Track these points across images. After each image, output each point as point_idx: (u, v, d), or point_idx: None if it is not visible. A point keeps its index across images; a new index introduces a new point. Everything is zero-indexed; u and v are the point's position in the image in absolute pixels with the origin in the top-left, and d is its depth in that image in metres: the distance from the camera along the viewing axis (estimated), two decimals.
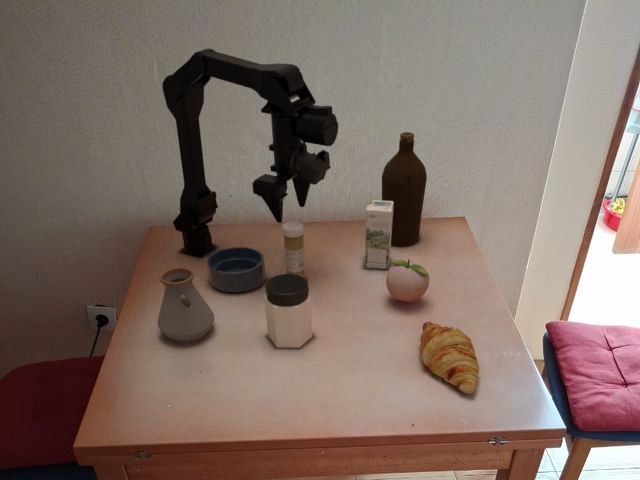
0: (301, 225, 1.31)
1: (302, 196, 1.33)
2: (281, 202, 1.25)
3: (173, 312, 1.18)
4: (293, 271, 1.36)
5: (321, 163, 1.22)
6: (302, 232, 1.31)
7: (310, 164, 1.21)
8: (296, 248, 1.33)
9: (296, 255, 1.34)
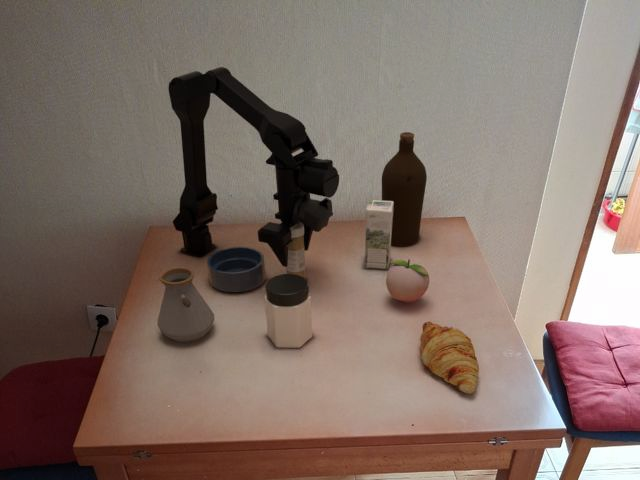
0: (301, 225, 1.31)
1: (305, 240, 1.37)
2: (286, 248, 1.29)
3: (173, 312, 1.18)
4: (294, 272, 1.36)
5: (324, 211, 1.26)
6: (302, 232, 1.31)
7: (313, 213, 1.25)
8: (297, 248, 1.33)
9: (297, 256, 1.34)
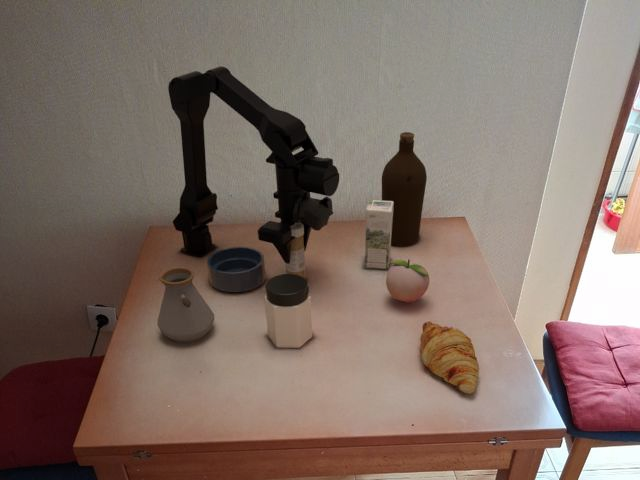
0: (301, 225, 1.31)
1: None
2: (289, 245, 1.29)
3: (173, 312, 1.18)
4: (294, 272, 1.36)
5: (324, 210, 1.26)
6: (302, 232, 1.31)
7: (313, 211, 1.25)
8: (296, 248, 1.33)
9: (296, 256, 1.34)
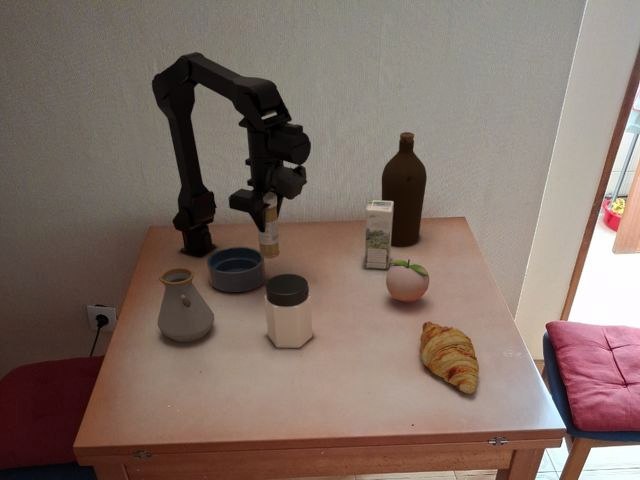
0: (274, 196, 1.27)
1: None
2: (264, 212, 1.26)
3: (173, 312, 1.18)
4: (267, 244, 1.33)
5: (297, 178, 1.22)
6: (275, 203, 1.27)
7: (286, 179, 1.21)
8: (269, 220, 1.29)
9: (269, 227, 1.30)
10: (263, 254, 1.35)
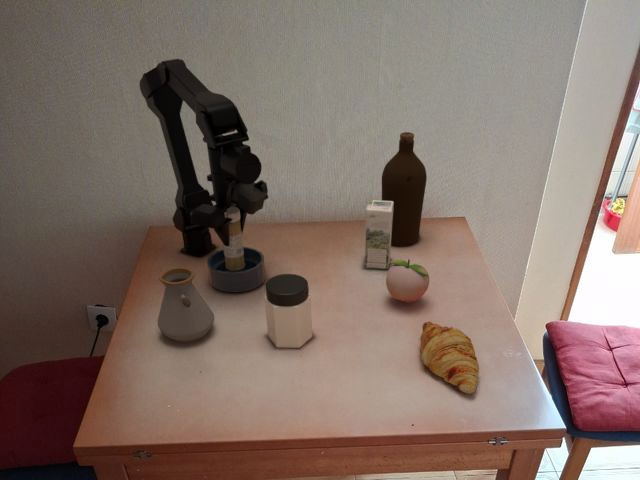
0: (236, 210, 1.30)
1: None
2: (226, 227, 1.29)
3: (173, 312, 1.18)
4: (231, 257, 1.35)
5: (258, 193, 1.25)
6: (238, 217, 1.30)
7: (247, 195, 1.23)
8: (233, 233, 1.31)
9: (233, 241, 1.32)
10: (228, 267, 1.37)
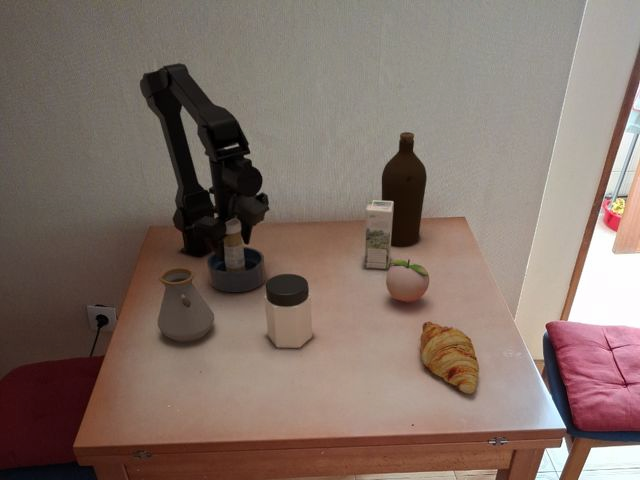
0: (237, 222, 1.31)
1: (246, 234, 1.37)
2: (222, 242, 1.29)
3: (173, 312, 1.18)
4: (233, 268, 1.37)
5: (259, 206, 1.26)
6: (239, 229, 1.32)
7: (248, 207, 1.25)
8: (234, 244, 1.33)
9: (234, 252, 1.34)
10: None
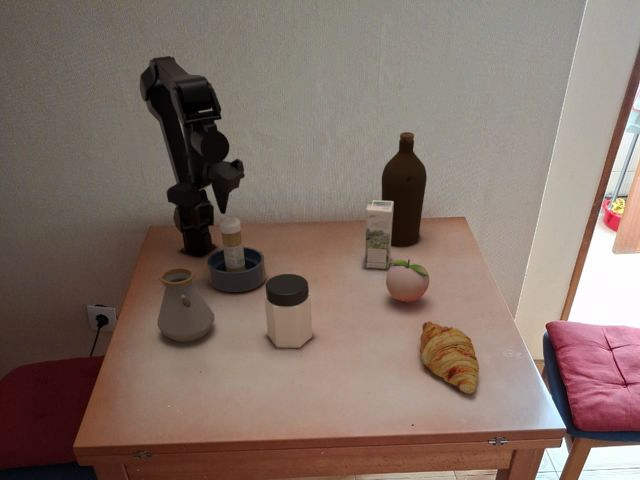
0: (237, 222, 1.31)
1: (222, 203, 1.36)
2: (197, 210, 1.27)
3: (173, 312, 1.18)
4: (233, 268, 1.37)
5: (234, 172, 1.24)
6: (239, 229, 1.32)
7: (222, 173, 1.23)
8: (234, 244, 1.33)
9: (234, 252, 1.34)
10: None
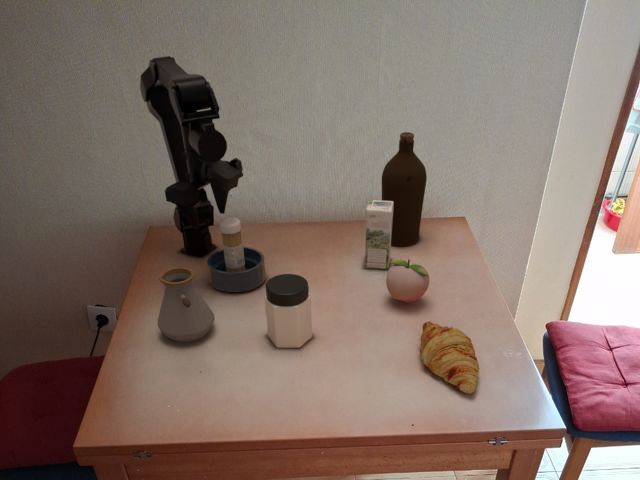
0: (237, 222, 1.31)
1: (221, 203, 1.36)
2: (195, 209, 1.27)
3: (173, 312, 1.18)
4: (233, 268, 1.37)
5: (232, 171, 1.24)
6: (239, 229, 1.32)
7: (221, 172, 1.23)
8: (234, 244, 1.33)
9: (234, 252, 1.34)
10: None
